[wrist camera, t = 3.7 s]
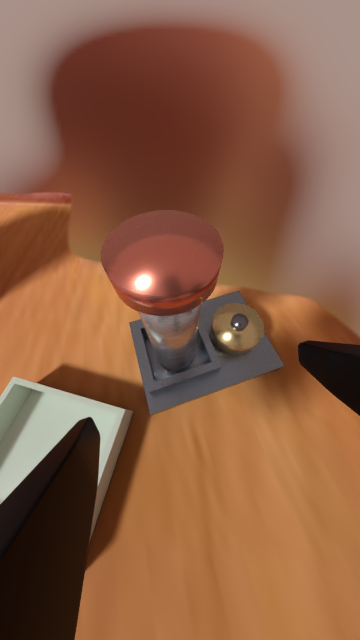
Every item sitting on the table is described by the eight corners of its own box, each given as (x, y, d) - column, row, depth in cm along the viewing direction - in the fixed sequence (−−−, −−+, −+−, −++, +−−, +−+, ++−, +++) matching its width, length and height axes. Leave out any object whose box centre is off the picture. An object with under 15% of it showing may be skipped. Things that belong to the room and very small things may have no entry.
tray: (77, 579, 13) (50, 618, 11) (-49, 524, 15) (-99, 546, 12) (133, 411, 18) (125, 409, 16) (36, 382, 20) (13, 376, 17)
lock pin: (194, 382, 18) (212, 308, 6) (143, 369, 19) (77, 280, 7) (204, 334, 21) (230, 217, 9) (159, 324, 21) (128, 204, 10)
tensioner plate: (279, 368, 20) (299, 357, 16) (152, 415, 18) (144, 413, 15) (236, 296, 25) (245, 275, 21) (131, 327, 23) (122, 309, 19)
